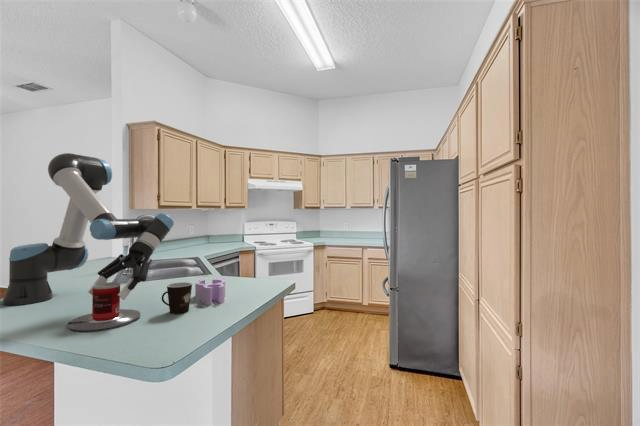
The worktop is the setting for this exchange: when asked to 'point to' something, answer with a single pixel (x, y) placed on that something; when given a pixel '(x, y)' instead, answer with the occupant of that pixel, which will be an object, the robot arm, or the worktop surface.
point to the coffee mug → (178, 297)
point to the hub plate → (103, 322)
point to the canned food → (106, 301)
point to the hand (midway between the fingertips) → (105, 295)
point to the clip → (210, 291)
